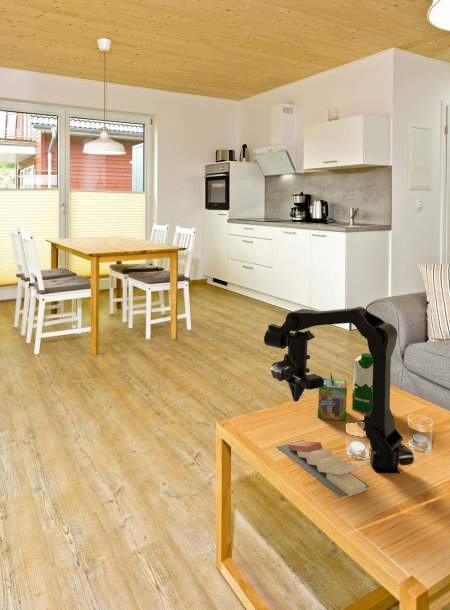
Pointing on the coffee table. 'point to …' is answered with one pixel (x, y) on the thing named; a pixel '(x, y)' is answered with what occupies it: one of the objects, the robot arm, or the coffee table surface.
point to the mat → (313, 469)
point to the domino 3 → (326, 461)
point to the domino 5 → (346, 483)
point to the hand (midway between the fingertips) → (295, 401)
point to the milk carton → (362, 383)
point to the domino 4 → (337, 468)
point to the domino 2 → (315, 454)
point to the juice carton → (332, 399)
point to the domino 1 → (305, 446)
